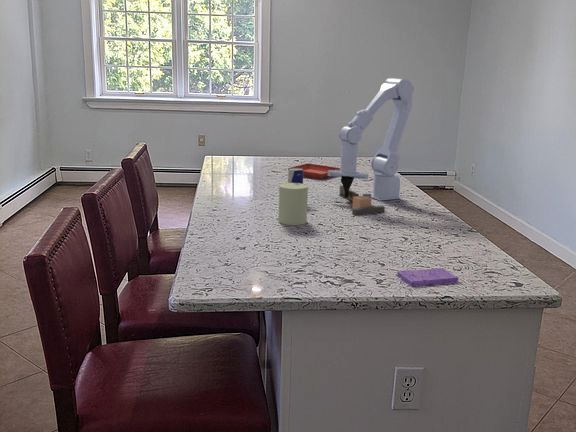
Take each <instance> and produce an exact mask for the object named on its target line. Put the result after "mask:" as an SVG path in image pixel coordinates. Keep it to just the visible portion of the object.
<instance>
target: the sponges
mask: <svg viewBox="0 0 576 432" xmlns="http://www.w3.org/2000/svg"><path fill="white" fill-rule="evenodd" d="M396 277H398V278H399V279H400V278H401V279H400V280H402V281H403V280H404V281H405V282H404V281H403V282H404V283H406V284H407V283H408V284H409V285H408V284H407V285H408V286H410V287H415V286H416V287H417V285H419V286H428V285H427V284H430V285H439V284H440V285H441V284H450V283H451V284H452V283H457V282H459V276H457V275H455V274H454V273H451V272H449V271H447V270H446V269H445V268H443V267H438V268H437V267H436V268H426V269H425V268H424V269H409V270H405V269H404V270H397V275H396Z"/></svg>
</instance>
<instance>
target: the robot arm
mask: <svg viewBox="0 0 576 432" xmlns="http://www.w3.org/2000/svg"><path fill="white" fill-rule="evenodd" d="M414 89H415V88H414V86H413V83H412V81H411V80H410V79H408V78H395V77H389V78H387V79H386V80H385V81H384V83H382V84H381V85H380V89H379V90H378V92H377V93H376V95H375V96H374V97H373V98H372V100H371V102H370V103H369V104H368V105H367V107H366V108H365V109H360V110H357V112H356V113H355V114H356V115H355V116H354V117H353V119H351V121H349V122H348V123H347V125H345V126H343V127H342V128H341V129H340V132H339V133H338V138H339V139H340V143H341V144H340V145H341V147H340V148H341V150H340V167H339V168H340V171H338V170H329V171H328V176H329V177H339V178H340V182H341V185H343V187H344V191H345V193H344V197H345V198H344V199H346V198H348V196H349V189H351V186H352V183H353V182H354V180H355V179H358V180H359V179H360V180H365V181H367V180H368V179H369V173H365V172H361V171H357V160H358V145H359V144H358V143H359V142H360V141H361V140H362V138H363V133H364V132H365V131H366V129H367V128H368V127H369V126H370V124H371V123H372V122H373V121H374V115H375V114H376V113H377V112H378V111H379V109H381V108H382V107H383V106H384V104H386V102H388V100H392V102H393V104H394V105H395V108H394V109H393V110H394V111H393V113H392V116H391V120H390V123H389V126H388V127H387V129H388V130H387V132H386V135H385V137H384V141H383V144H382V147H381V148H379V149H378V150H377V151H376V153H375V155H374V156H373V158H371V160H370V161H371V162H370V166H371V167H370V168H371V169H372V170H373V190H372V195H371V199H375V200H378V201H380V202H381V201H388V200H400V199H401V197H400V191H401V190H400V189H401V188H400V187H401V180H400V176H399V175H398V174H397V172H398V170H399V161H400V155H399V153H398V148H399V146H400V143H401V139H402V136H403V134H404V130H405V127H406V125H407V121H408V118H409V115H410V113H411V109H412V106H413V93H414Z"/></svg>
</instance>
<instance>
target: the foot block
mask: <svg viewBox="0 0 576 432" xmlns="http://www.w3.org/2000/svg"><path fill="white" fill-rule="evenodd" d="M351 207H352V208H351V209H352V210H353V209H355V208H365V207H372V197H371V198H369V197H366V196H363V195H359V196H356V197H353V201H352V206H351Z"/></svg>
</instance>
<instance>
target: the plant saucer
mask: <svg viewBox="0 0 576 432" xmlns="http://www.w3.org/2000/svg"><path fill="white" fill-rule="evenodd" d="M290 168H301V169H303V178H310V179H311V178H312V179H317V180H322V179H325V178H329V177H330V176H328V171H329V170H338V171H340V167H335V166H329V165H323V164H315V163H310V162H309V163H308V162H307V163H303V164H299V165H295V166H292V167H287V170H288V171H289V169H290Z"/></svg>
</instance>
